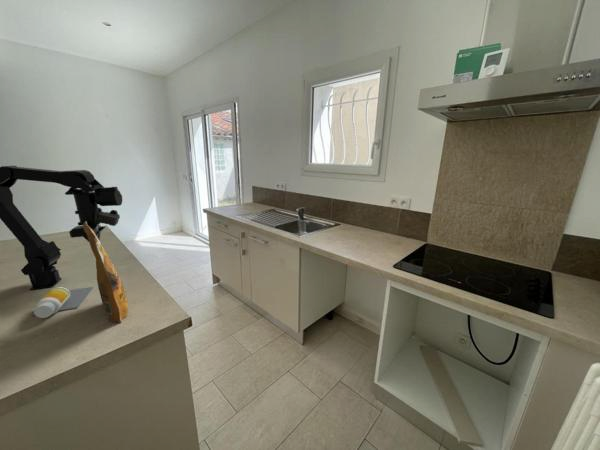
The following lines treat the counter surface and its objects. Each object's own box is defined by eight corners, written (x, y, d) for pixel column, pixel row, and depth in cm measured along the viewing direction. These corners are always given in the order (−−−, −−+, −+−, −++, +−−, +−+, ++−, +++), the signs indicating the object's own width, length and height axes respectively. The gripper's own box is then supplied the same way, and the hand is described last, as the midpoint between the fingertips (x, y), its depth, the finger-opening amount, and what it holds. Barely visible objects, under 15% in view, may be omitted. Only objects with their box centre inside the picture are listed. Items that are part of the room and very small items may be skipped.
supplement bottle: (49, 286, 76) (30, 303, 68) (71, 286, 79) (55, 303, 70) (48, 301, 77) (30, 320, 69) (70, 301, 80) (55, 319, 71)
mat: (30, 316, 72) (30, 315, 72) (53, 293, 84) (53, 292, 84) (77, 308, 76) (77, 307, 76) (93, 287, 88) (92, 286, 88)
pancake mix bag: (101, 332, 66) (76, 235, 58) (101, 299, 81) (82, 218, 73) (130, 322, 70) (111, 230, 62) (126, 293, 85) (110, 215, 77)
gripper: (106, 210, 81) (115, 254, 85) (121, 200, 97) (128, 237, 102) (63, 213, 76) (75, 258, 81) (87, 202, 93) (95, 240, 97)
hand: (96, 247), depth 90 cm, fingers closed
